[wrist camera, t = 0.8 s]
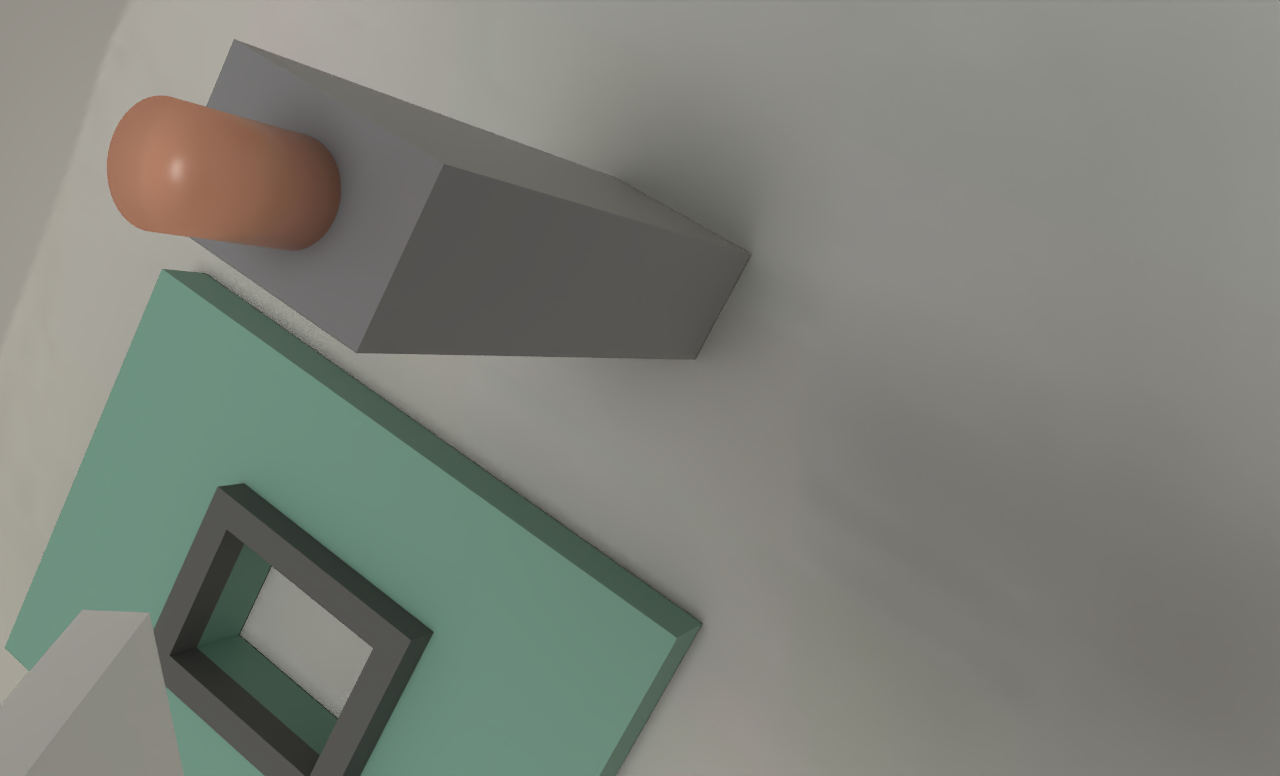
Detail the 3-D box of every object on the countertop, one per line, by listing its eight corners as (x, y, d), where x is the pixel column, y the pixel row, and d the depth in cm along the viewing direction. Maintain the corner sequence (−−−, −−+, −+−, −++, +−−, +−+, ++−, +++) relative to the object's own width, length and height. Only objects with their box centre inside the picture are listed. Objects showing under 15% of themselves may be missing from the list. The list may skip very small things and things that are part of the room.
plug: (751, 254, 33) (322, 128, 16) (694, 359, 34) (224, 350, 16) (604, 171, 35) (74, -23, 18) (553, 273, 36) (-3, 182, 18)
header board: (702, 623, 34) (660, 648, 31) (471, 1026, 37) (415, 1083, 34) (205, 273, 41) (133, 266, 38) (51, 636, 45) (-25, 655, 42)
